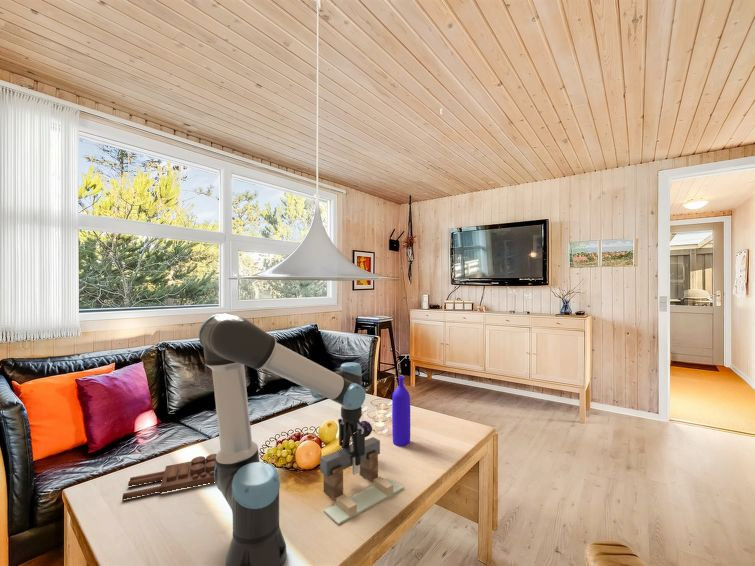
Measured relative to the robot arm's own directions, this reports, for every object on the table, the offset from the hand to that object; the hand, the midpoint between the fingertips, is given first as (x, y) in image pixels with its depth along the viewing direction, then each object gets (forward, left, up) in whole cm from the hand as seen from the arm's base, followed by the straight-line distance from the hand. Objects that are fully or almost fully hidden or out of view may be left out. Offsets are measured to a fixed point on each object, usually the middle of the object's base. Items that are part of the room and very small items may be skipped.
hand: (351, 469), depth 128 cm
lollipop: (+16, +12, -5) cm, 21 cm away
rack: (0, 0, -5) cm, 5 cm away
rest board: (-2, -10, -5) cm, 12 cm away
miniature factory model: (-48, +45, -6) cm, 66 cm away
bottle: (+37, +12, -5) cm, 39 cm away
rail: (0, 0, +3) cm, 3 cm away
